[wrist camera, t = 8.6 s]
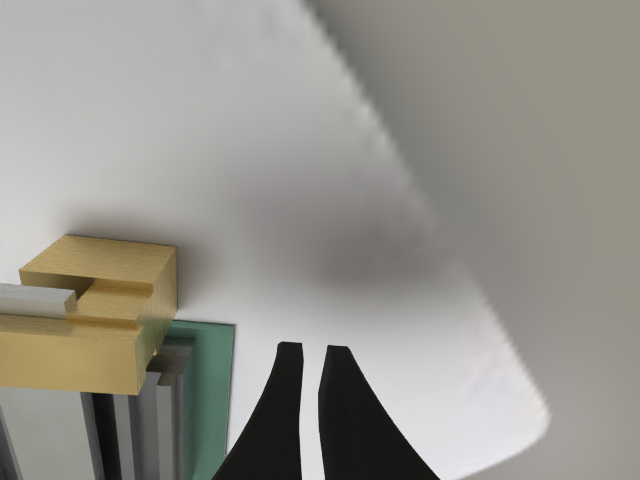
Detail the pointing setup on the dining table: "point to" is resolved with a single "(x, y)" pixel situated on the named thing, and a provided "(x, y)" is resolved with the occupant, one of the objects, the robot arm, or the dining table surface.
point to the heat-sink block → (163, 412)
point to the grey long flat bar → (49, 404)
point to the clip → (93, 317)
